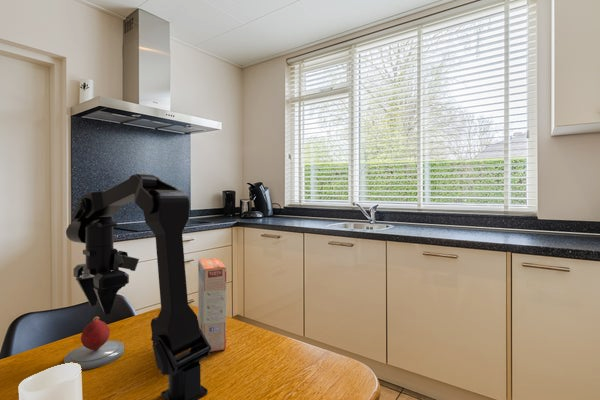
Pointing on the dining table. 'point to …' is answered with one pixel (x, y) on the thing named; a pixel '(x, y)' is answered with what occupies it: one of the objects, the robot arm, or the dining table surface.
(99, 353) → the plate
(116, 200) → the robot arm
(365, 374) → the dining table surface
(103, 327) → the onion
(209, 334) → the cracker box
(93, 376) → the dining table surface
